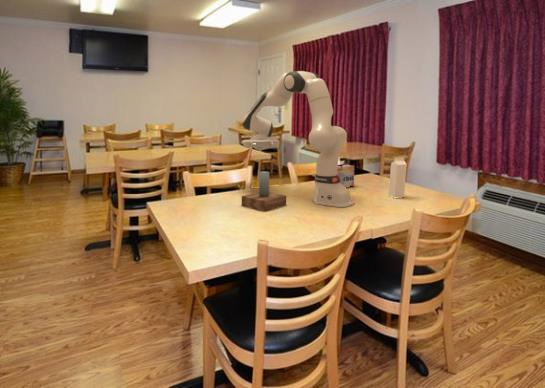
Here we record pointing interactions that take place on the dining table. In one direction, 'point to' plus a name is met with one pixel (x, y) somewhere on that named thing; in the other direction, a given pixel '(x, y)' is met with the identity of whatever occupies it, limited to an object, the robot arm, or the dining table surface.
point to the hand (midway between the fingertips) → (263, 145)
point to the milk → (397, 177)
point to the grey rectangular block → (263, 184)
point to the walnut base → (264, 201)
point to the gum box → (346, 174)
